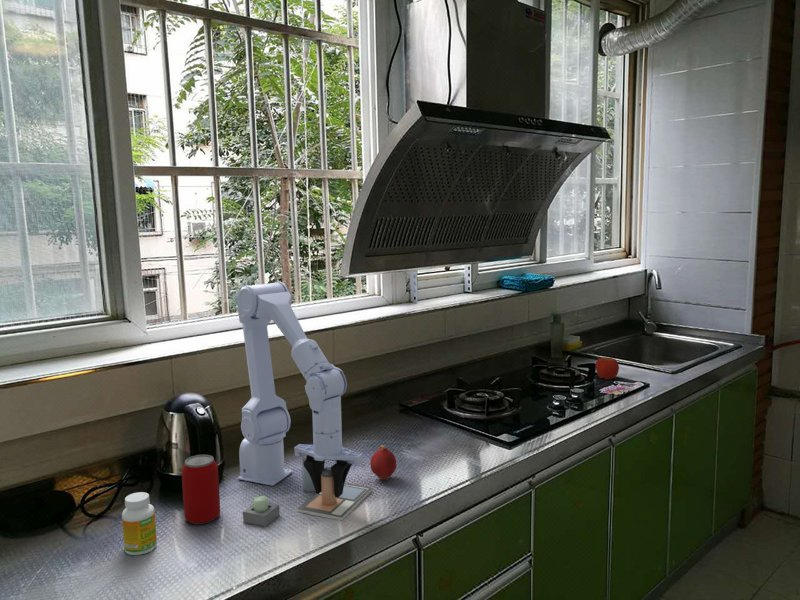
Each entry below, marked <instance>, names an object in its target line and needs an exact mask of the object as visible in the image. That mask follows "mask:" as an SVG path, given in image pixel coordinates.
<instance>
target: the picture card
mask: <svg viewBox="0 0 800 600" xmlns="http://www.w3.org/2000/svg"><path fill="white" fill-rule="evenodd" d="M372 492H373V487H372V486H365V485H359V484H353V483H348V482H345V484H344V488H343V494H342V495H341V496H340V497H338V498H337V503H336V504H335V505H332V506H325V505H323V504H322V492H320V493H319V494H316V492H315V493H314V494H312V495H311V497H309V498H308V499H306V500H305V501H304V502H303V503H302V504H301V505H299V506H298V507H297V508H296V509H297V512H298V513H303V514H308V515H312V516H318V517H323V518H328V519H332V520H339V521H343V520H344V519H345V518H346V517H347V516H348V515H349V514H350V513H351V512H352V511H353V510H354V509H355V508H357V506H358V505H359V504H360V503H361V502H363V500H364V499H365V498H367V496H369V495H370V493H372Z"/></svg>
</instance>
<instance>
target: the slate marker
mask: <svg viewBox="0 0 800 600" xmlns="http://www.w3.org/2000/svg"><path fill="white" fill-rule="evenodd" d="M304 461H306V456H302V462H301V470H302V471H301V475H302V490H303V491H304V492H307V493H311V492H315V488H314V485H313V482H312V480H311V477H310V475H309V473H308V472H307V470H306V468H305V467H304V465H303V462H304Z"/></svg>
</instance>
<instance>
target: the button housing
mask: <svg viewBox="0 0 800 600" xmlns="http://www.w3.org/2000/svg"><path fill="white" fill-rule="evenodd" d="M268 507H269V509H267V510H266V511H265V512H264V513H262V512H257V511H254V503H252V504H251V505H250V506H248V507H247V508H245V509H243V511H242V520H243V521H242V522H243V523H245V524H250V525H255V526H261V527H264V528H266V527H267V526H268V525H269V524H271V523H272V522H273V521H275V520H276V519H277V518H278V517H280V515H281V513H280V503H279V504H278V503H273V502H269V501H268Z"/></svg>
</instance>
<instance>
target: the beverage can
mask: <svg viewBox="0 0 800 600" xmlns="http://www.w3.org/2000/svg"><path fill="white" fill-rule="evenodd" d="M219 479H220V478H219V466H218V464H217V462H216V461H215V458H214V456H213V455H210V454H196V455H192V456H190V457H188V458H186V459H185V460H184V464H183V466H182V468H181V483H182V484H181V485H182V499H183V500H182V501H183V514H184V519H185V520H186V521H187V522H189V523H192V524H194V525H204V524H205V525H206V524H207V523H211V522H212V521H214V520H215V519H217V517H219V515H220V513H221V501H220V500H221V499H220V482H219Z"/></svg>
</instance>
